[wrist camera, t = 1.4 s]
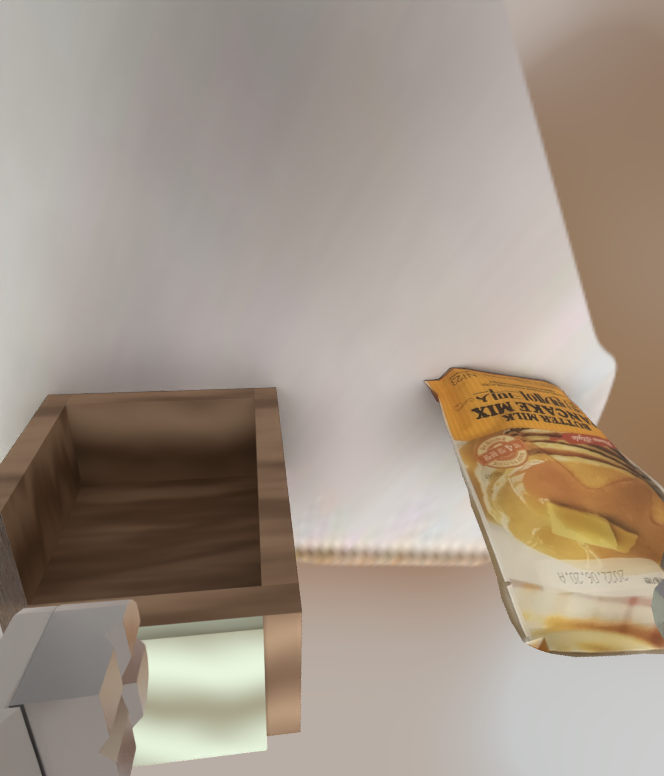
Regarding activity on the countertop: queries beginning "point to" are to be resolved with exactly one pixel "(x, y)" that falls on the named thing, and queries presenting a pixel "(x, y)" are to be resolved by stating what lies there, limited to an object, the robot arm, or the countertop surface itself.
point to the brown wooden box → (171, 552)
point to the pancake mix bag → (557, 515)
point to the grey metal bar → (9, 583)
